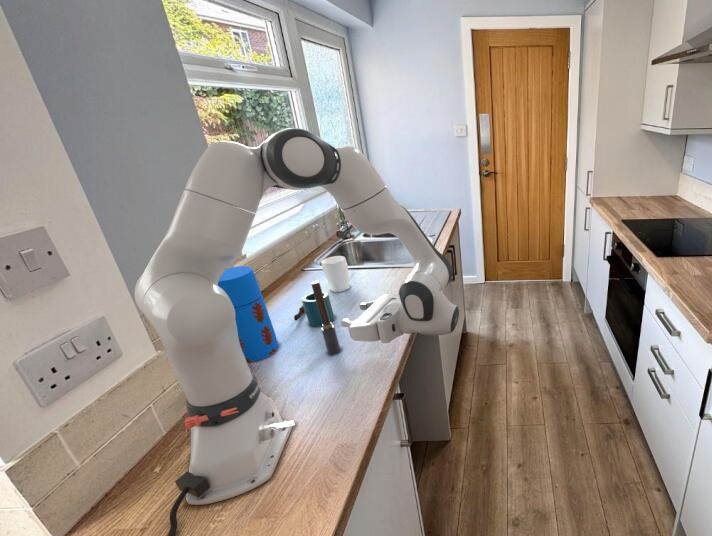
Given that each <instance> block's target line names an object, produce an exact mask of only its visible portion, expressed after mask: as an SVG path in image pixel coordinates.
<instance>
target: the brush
mask: <svg viewBox="0 0 712 536" xmlns="http://www.w3.org/2000/svg"><path fill="white" fill-rule="evenodd" d="M310 285H311V288H312V291H313V292H314V295H315V299H316V302H317V306H318V309H319V313H320V316H321V320H322V323H323V324H322V326H321V329H320V330H321V333H322V337H323V340H324V344H325V347H326V350H327V353H328V355H337V354H338V353H340V352H341V347H340V343H339V338H338V334H337V331H336V327H335V325H334V324H333V323H332V322H330V319H329V316H328V312H327V308H326V305H325V301H324V297H323V294H322V291H323V290H322V286H321V282H320V281H319V280H314V281H312V282H311V283H310ZM313 292H312V293H313Z"/></svg>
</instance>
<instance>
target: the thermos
mask: <svg viewBox="0 0 712 536" xmlns="http://www.w3.org/2000/svg"><path fill="white" fill-rule="evenodd" d="M217 286H219V287H220V288H222V289H223V290H224V291H225V292H226V294H227V295H228V296H229V298H230V300H231V302H232V304H233V306H234V309H235V321H236V325H237V331H238V337H239V342H240V346H241V349H242V351H243V354H244V357H245V359H246V362H247V363H248V362H249V363H250V362H257V361H260V360H263V359H266V358H268V357H269V356H271V355H273V354H274V353H276V351H278V349H279V343H278V338H277V335H276V332H275V329H274V326H273V323H272V320H271V318H270V314H269V312H268V308H267V306H266V305H267V304H266V303H265V300H264V297H263V294H262V291H261V289H260V285H259V282H258V279H257V277H256V274H255V272H254V269H253V268H252V267H250V266H245V265H243V266H242V265H241V266H240V265H239V266H233V267H232V266H231V267H227V268H226V270H225V271H224V273H223V274H222V276H221V277H220V279H219V281H218V285H217Z"/></svg>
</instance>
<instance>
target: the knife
mask: <svg viewBox="0 0 712 536" xmlns="http://www.w3.org/2000/svg"><path fill="white" fill-rule="evenodd" d="M305 313H306V312H305V309H304V305H303V304H302V305H301V307H299V310H298V312H297V313H296V314H295V315H294V316H293V319H294V321H296V322H297V321H298V320H299V319H300V318H301V317H302V316H303V314H305Z"/></svg>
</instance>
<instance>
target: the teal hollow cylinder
mask: <svg viewBox="0 0 712 536" xmlns="http://www.w3.org/2000/svg"><path fill="white" fill-rule="evenodd" d="M322 294H323V297H324V301H325V305H326V308H327V312H328V316H329V319H330V322H331V323H332V322H333V321H334V320H335V314H334V310H333V305H332V304H331V299H330V295H329V293H328V292H327V291H325V290H322ZM301 302H302V305H304V309H305V312H304V313H305V315H306V318H307V321H308V324H309V325H310V326H311V327H322V324H323V323H322V320H321V316H320V313H319V309H318V306H317V302H316V299H315V295H314V292H310V293H307V294H305V295H304V296H303V297H302V298H301Z"/></svg>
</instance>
